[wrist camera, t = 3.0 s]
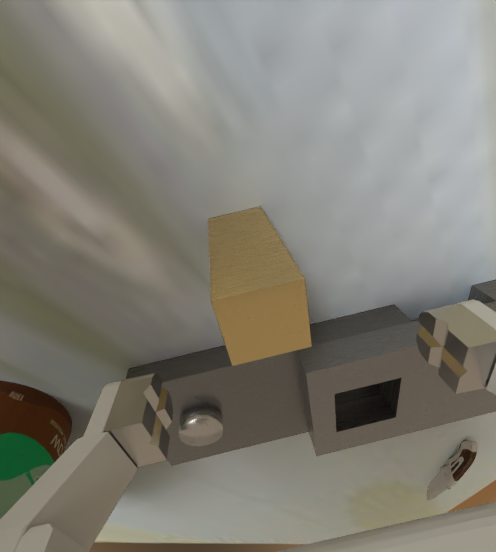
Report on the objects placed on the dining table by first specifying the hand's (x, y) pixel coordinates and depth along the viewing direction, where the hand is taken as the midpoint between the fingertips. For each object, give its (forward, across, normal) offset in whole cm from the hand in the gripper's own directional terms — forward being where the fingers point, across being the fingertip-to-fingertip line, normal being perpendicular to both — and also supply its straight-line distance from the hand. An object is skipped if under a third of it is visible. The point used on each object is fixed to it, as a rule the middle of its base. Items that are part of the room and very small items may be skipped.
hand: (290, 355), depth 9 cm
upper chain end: (+10, -11, +13) cm, 19 cm away
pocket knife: (+10, -18, +37) cm, 42 cm away
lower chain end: (+9, +1, +12) cm, 16 cm away
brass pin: (+9, +1, 0) cm, 9 cm away
